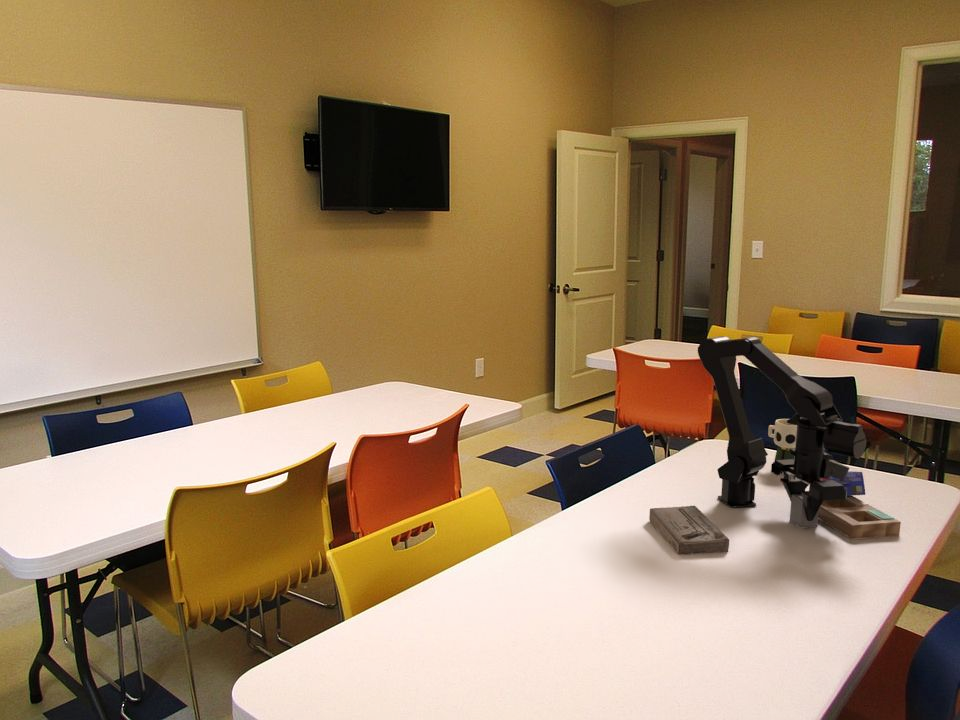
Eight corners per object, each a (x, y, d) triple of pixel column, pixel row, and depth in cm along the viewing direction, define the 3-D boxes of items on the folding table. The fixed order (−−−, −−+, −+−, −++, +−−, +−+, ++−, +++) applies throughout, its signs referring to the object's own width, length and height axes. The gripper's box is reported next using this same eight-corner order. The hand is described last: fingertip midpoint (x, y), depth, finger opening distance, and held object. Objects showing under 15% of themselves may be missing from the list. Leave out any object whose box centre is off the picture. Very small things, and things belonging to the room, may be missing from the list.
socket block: (851, 539, 152) (853, 524, 151) (805, 510, 167) (806, 496, 167) (899, 535, 154) (900, 520, 153) (849, 507, 169) (850, 493, 169)
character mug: (760, 468, 197) (763, 420, 195) (771, 462, 202) (774, 415, 200) (801, 477, 189) (805, 428, 187) (812, 471, 194) (816, 423, 192)
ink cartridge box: (854, 469, 175) (865, 471, 161) (858, 493, 174) (869, 497, 160) (809, 472, 178) (816, 474, 164) (812, 495, 177) (819, 499, 163)
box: (694, 517, 163) (694, 504, 162) (730, 553, 146) (730, 538, 145) (647, 521, 161) (647, 507, 161) (678, 557, 144) (678, 542, 144)
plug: (800, 527, 158) (802, 501, 157) (789, 520, 162) (791, 494, 160) (817, 526, 158) (819, 500, 157) (806, 519, 162) (808, 493, 161)
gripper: (874, 458, 149) (866, 531, 152) (817, 433, 167) (812, 499, 170) (823, 461, 147) (817, 535, 150) (772, 435, 165) (767, 502, 168)
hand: (804, 516), depth 160 cm, fingers closed on plug, 4 cm apart
